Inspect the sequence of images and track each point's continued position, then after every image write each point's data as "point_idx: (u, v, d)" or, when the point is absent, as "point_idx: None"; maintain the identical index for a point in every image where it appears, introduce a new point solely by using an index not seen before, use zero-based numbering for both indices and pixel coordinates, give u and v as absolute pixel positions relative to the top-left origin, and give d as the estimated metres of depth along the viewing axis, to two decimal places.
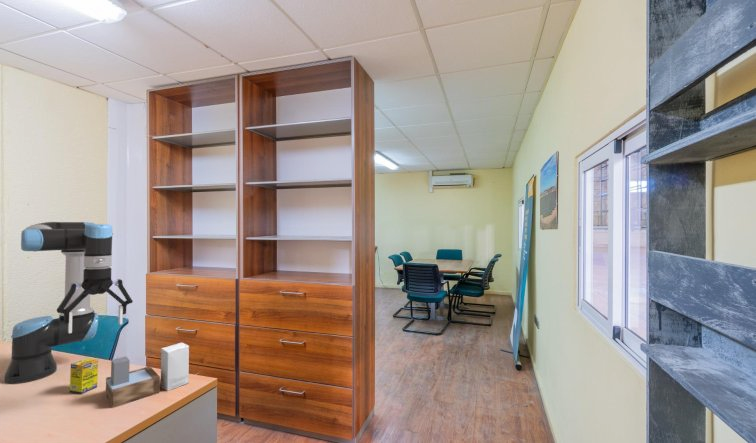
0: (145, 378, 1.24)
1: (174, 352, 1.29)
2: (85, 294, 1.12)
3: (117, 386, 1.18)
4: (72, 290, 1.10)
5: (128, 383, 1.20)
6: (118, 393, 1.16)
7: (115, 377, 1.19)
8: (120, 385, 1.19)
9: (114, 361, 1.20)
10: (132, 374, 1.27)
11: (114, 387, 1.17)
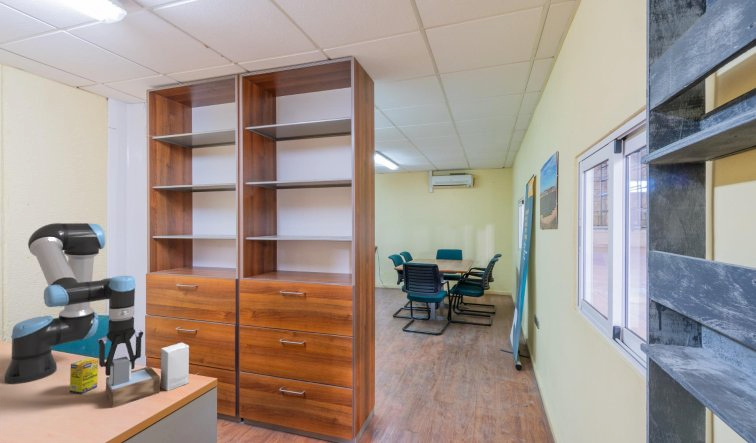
0: (145, 378, 1.24)
1: (174, 352, 1.29)
2: (115, 346, 1.19)
3: (117, 386, 1.18)
4: (102, 345, 1.17)
5: (128, 383, 1.20)
6: (118, 393, 1.16)
7: (115, 377, 1.19)
8: (120, 385, 1.19)
9: (114, 361, 1.20)
10: (132, 374, 1.27)
11: (114, 387, 1.17)
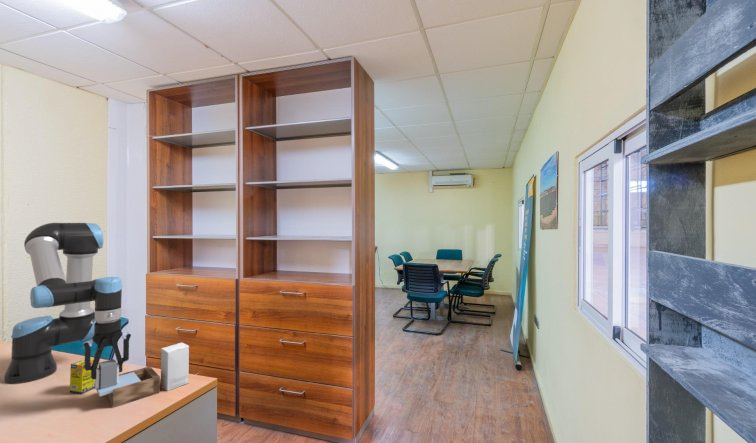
0: (133, 381, 1.22)
1: (175, 352, 1.29)
2: (101, 349, 1.16)
3: (104, 390, 1.15)
4: (87, 348, 1.14)
5: (115, 386, 1.18)
6: (118, 393, 1.16)
7: (102, 380, 1.16)
8: (107, 389, 1.16)
9: (101, 364, 1.18)
10: (120, 377, 1.25)
11: (101, 391, 1.15)
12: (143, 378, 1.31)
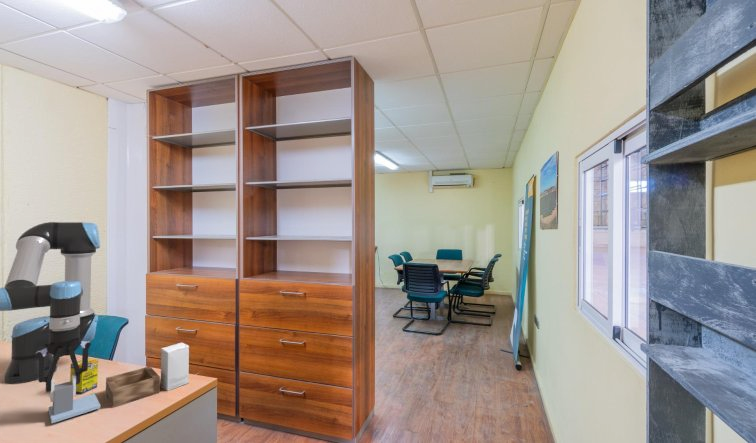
0: (92, 405, 1.13)
1: (174, 352, 1.29)
2: (56, 359, 1.08)
3: (58, 416, 1.07)
4: (40, 358, 1.05)
5: (71, 412, 1.09)
6: (118, 393, 1.16)
7: (56, 405, 1.07)
8: (61, 414, 1.07)
9: (55, 387, 1.09)
10: (79, 400, 1.16)
11: (54, 417, 1.06)
12: (143, 378, 1.31)
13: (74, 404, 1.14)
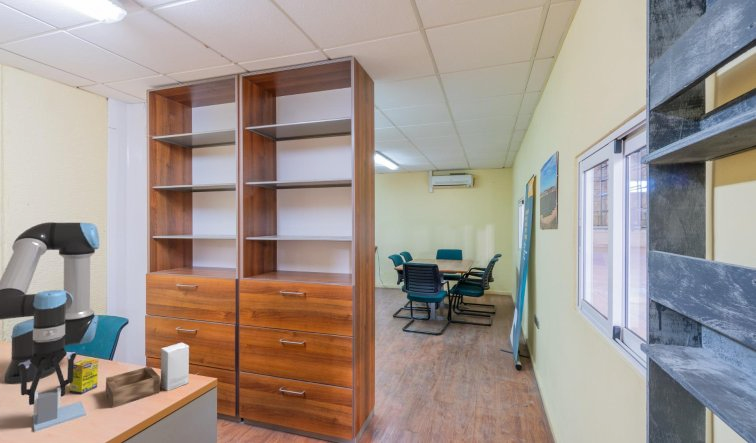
0: (77, 413, 1.10)
1: (174, 352, 1.29)
2: (39, 370, 1.05)
3: (41, 425, 1.04)
4: (23, 371, 1.02)
5: (55, 420, 1.06)
6: (118, 393, 1.16)
7: (39, 414, 1.04)
8: (45, 423, 1.04)
9: (39, 395, 1.06)
10: (64, 408, 1.13)
11: (37, 426, 1.03)
12: (143, 378, 1.31)
13: (59, 412, 1.10)
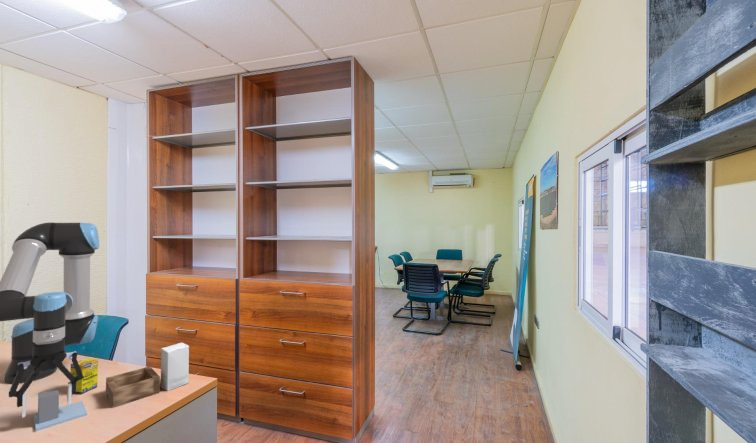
0: (78, 413, 1.10)
1: (174, 352, 1.29)
2: (36, 372, 1.04)
3: (42, 424, 1.04)
4: (20, 371, 1.02)
5: (56, 420, 1.06)
6: (118, 393, 1.16)
7: (40, 414, 1.04)
8: (46, 423, 1.05)
9: (41, 395, 1.06)
10: (65, 408, 1.13)
11: (38, 426, 1.03)
12: (143, 378, 1.31)
13: (60, 412, 1.11)
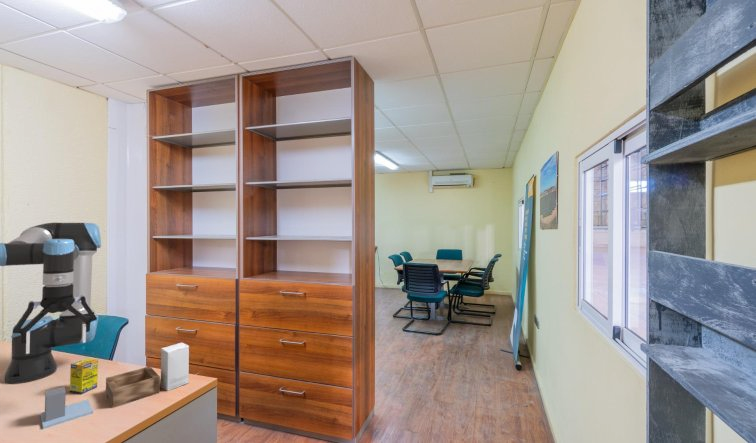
0: (85, 411, 1.11)
1: (174, 352, 1.29)
2: (44, 313, 1.08)
3: (49, 422, 1.05)
4: (29, 309, 1.05)
5: (63, 418, 1.07)
6: (118, 393, 1.16)
7: (47, 412, 1.06)
8: (53, 421, 1.06)
9: (47, 393, 1.07)
10: (72, 406, 1.14)
11: (45, 423, 1.04)
12: (143, 378, 1.31)
13: (67, 410, 1.12)
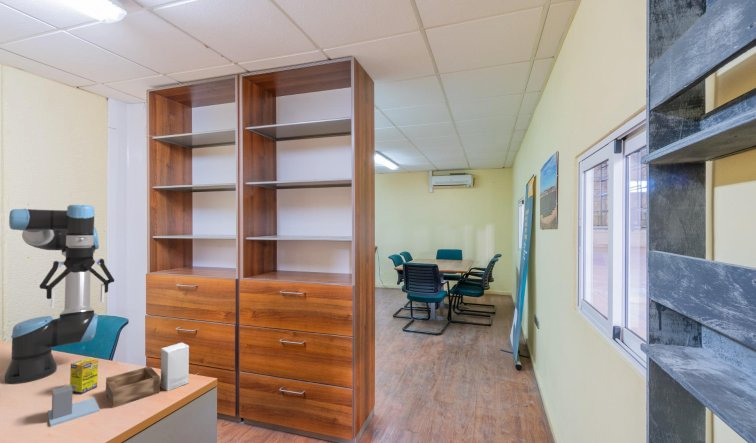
0: (91, 409, 1.13)
1: (174, 352, 1.29)
2: (67, 271, 1.17)
3: (57, 420, 1.06)
4: (54, 267, 1.15)
5: (70, 416, 1.09)
6: (118, 393, 1.16)
7: (55, 409, 1.07)
8: (60, 418, 1.07)
9: (55, 391, 1.09)
10: (78, 404, 1.16)
11: (53, 421, 1.06)
12: (143, 378, 1.31)
13: (73, 408, 1.13)
